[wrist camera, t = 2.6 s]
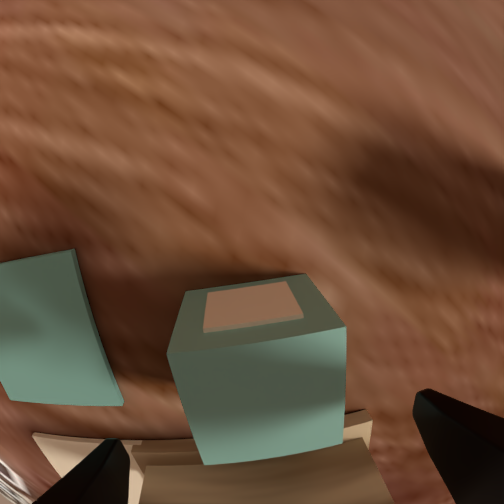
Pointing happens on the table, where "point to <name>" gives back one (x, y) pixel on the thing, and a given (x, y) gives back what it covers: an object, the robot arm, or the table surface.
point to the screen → (265, 473)
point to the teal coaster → (51, 335)
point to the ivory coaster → (76, 449)
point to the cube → (260, 369)
